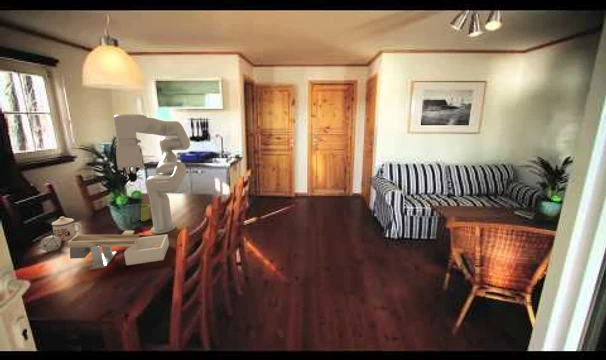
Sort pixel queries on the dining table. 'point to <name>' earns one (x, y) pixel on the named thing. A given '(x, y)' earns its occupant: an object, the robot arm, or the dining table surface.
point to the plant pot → (144, 212)
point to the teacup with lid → (65, 228)
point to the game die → (50, 243)
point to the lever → (99, 242)
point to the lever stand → (101, 256)
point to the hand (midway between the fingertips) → (133, 181)
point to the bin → (147, 250)
